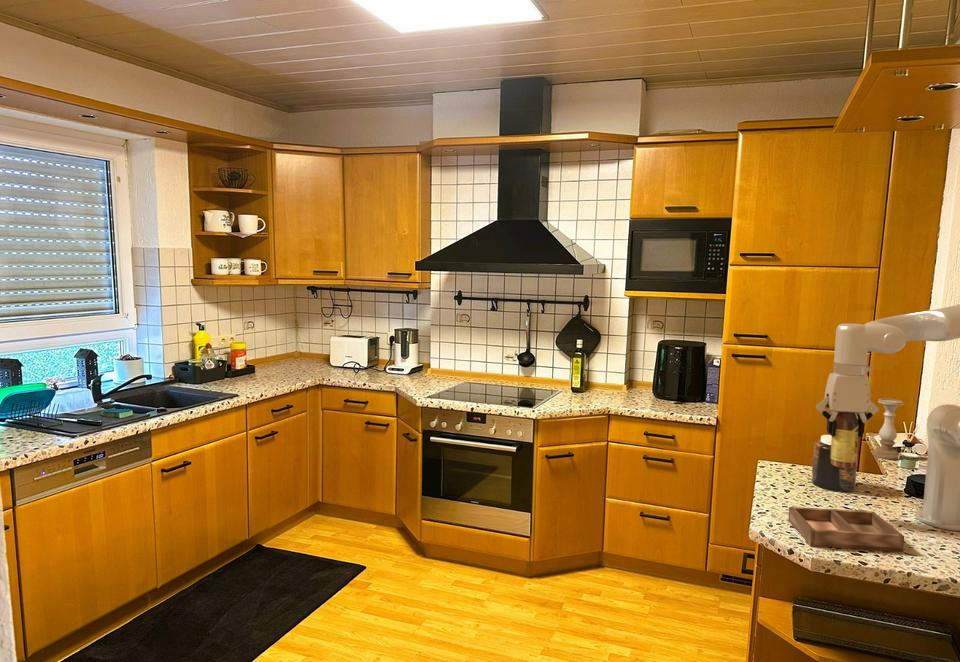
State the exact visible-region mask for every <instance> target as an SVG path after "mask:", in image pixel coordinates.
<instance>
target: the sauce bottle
mask: <svg viewBox="0 0 960 662" xmlns="http://www.w3.org/2000/svg"><path fill="white" fill-rule="evenodd" d="M834 421H835V422H836V432H835V436H832V437H831V464H832V465H833V466H835V467H839V468H847V469H851V468H855V467H856V462H857V463H858V446H859V445H858V444H859V437H858V428H859V423H858V418H857V415H856V413H851V412H838V414H837V416H836V418H835V420H834Z"/></svg>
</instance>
